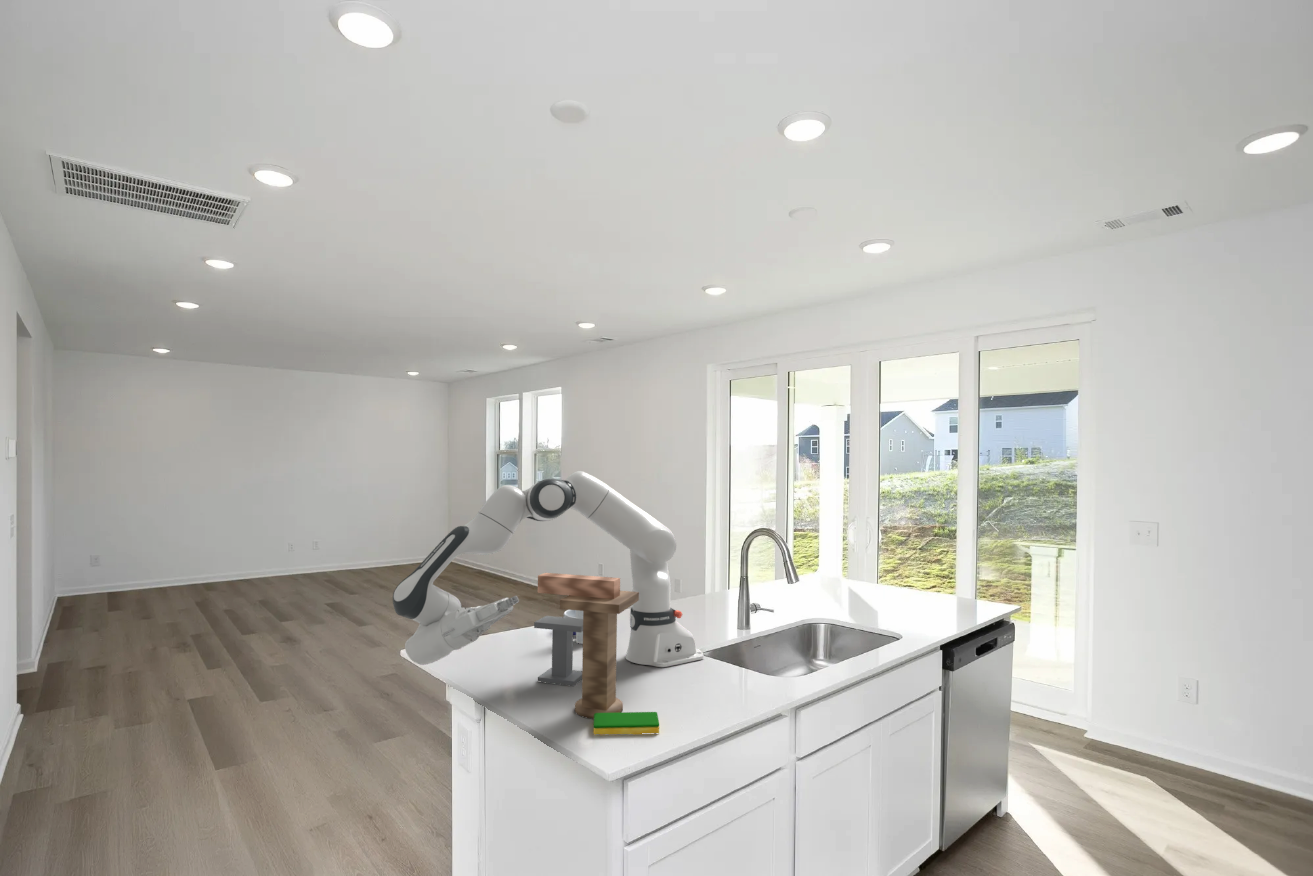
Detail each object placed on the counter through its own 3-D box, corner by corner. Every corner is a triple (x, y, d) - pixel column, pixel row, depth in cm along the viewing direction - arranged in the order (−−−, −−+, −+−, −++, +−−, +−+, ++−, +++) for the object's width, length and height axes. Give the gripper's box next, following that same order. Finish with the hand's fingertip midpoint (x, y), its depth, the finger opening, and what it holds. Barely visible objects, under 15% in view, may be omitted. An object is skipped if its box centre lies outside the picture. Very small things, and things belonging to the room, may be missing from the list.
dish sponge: (594, 723, 148) (594, 712, 148) (656, 722, 149) (657, 711, 149) (593, 737, 141) (593, 725, 141) (659, 736, 142) (659, 724, 142)
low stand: (591, 676, 177) (592, 619, 177) (579, 687, 169) (580, 627, 169) (546, 671, 180) (546, 615, 181) (532, 681, 173) (533, 622, 173)
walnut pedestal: (637, 702, 159) (638, 592, 160) (617, 725, 146) (619, 604, 146) (582, 695, 163) (584, 587, 164) (558, 717, 150) (559, 599, 150)
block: (619, 595, 156) (620, 578, 156) (613, 598, 152) (614, 581, 152) (545, 589, 161) (545, 572, 161) (537, 592, 157) (537, 575, 158)
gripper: (432, 625, 156) (478, 599, 152) (479, 606, 175) (521, 583, 172) (443, 650, 155) (490, 625, 151) (489, 628, 174) (532, 605, 171)
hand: (507, 602), depth 162 cm, fingers open, 8 cm apart
